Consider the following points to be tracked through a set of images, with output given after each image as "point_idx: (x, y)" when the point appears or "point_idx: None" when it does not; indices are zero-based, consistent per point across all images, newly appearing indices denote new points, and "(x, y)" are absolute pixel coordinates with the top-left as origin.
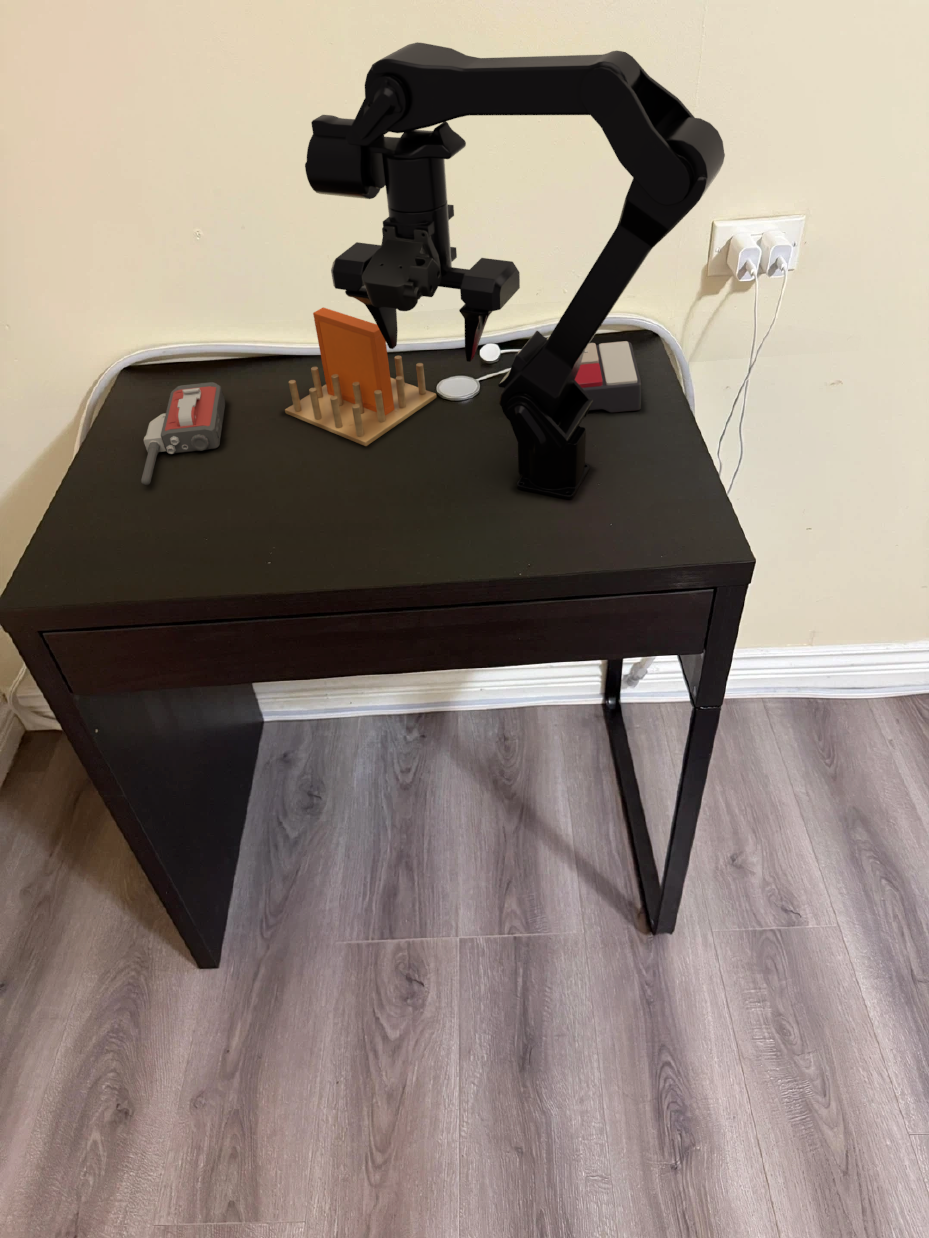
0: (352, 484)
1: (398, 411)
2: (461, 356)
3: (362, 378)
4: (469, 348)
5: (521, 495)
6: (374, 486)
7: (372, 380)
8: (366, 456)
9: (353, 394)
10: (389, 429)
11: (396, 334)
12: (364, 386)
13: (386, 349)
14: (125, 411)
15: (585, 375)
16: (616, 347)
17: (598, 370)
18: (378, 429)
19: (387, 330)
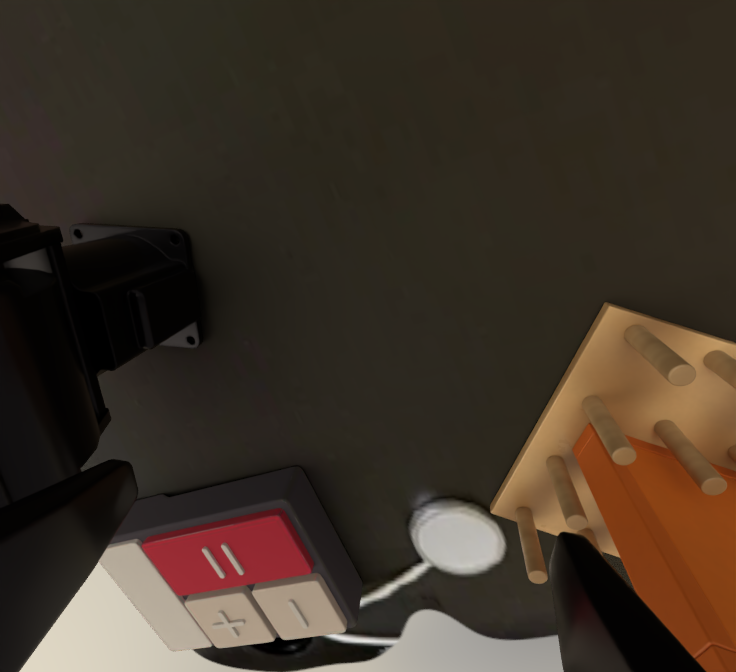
0: (591, 117)
1: (558, 443)
2: (488, 627)
3: (697, 509)
4: (21, 505)
5: (169, 212)
6: (520, 130)
7: (658, 499)
8: (589, 261)
9: None
10: (561, 380)
11: (562, 636)
12: (680, 489)
13: None
14: None
15: (178, 561)
16: (177, 636)
17: (165, 576)
18: (588, 366)
19: (623, 660)
